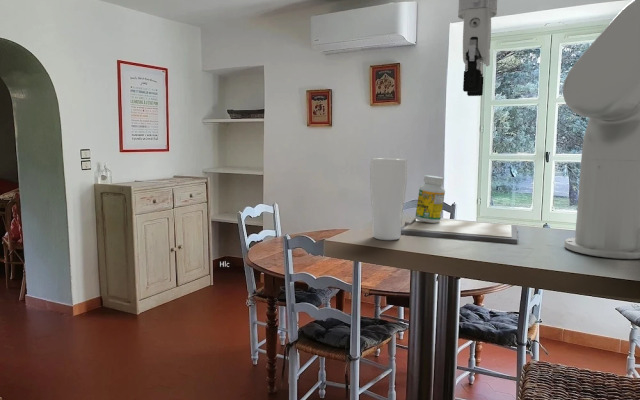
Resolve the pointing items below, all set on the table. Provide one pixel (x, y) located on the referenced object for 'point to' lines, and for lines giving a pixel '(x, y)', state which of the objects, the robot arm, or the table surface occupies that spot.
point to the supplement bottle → (430, 200)
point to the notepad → (462, 230)
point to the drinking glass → (387, 196)
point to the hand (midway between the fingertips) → (473, 93)
